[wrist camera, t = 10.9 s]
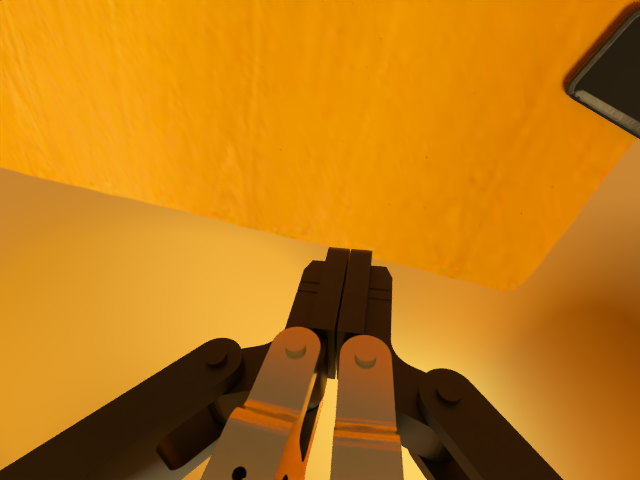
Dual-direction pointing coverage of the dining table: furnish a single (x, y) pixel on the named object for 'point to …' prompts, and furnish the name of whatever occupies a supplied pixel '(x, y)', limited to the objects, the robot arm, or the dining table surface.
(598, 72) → the phone
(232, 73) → the dining table surface
